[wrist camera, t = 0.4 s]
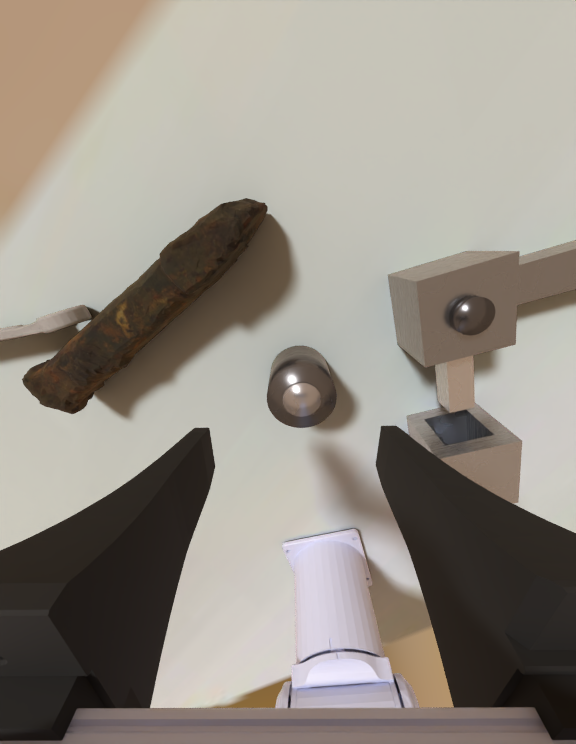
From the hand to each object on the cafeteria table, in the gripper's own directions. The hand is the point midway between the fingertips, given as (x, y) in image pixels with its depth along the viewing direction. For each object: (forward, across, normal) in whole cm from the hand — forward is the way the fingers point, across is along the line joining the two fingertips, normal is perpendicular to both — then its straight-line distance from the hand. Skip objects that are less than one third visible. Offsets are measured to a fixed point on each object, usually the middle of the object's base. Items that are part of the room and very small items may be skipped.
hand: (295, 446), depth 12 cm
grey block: (+10, -13, +7) cm, 18 cm away
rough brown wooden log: (+10, +10, -5) cm, 15 cm away
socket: (+10, 0, +1) cm, 10 cm away
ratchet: (+10, -18, -4) cm, 21 cm away
